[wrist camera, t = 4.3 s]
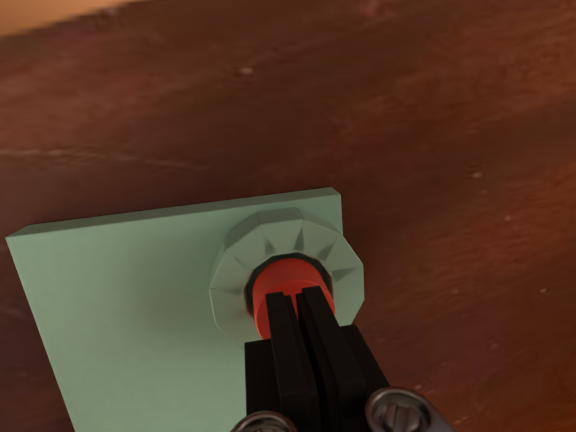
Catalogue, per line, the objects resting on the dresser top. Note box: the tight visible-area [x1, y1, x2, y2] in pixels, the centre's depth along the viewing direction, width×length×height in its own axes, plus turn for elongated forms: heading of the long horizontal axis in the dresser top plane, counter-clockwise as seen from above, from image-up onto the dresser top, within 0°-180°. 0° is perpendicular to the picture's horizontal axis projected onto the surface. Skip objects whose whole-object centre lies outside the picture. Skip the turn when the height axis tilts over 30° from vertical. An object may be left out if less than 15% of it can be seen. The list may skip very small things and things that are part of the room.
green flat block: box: [6, 187, 364, 432], centre depth 15 cm, size 14×12×3 cm
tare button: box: [253, 258, 335, 339], centre depth 12 cm, size 3×3×2 cm
